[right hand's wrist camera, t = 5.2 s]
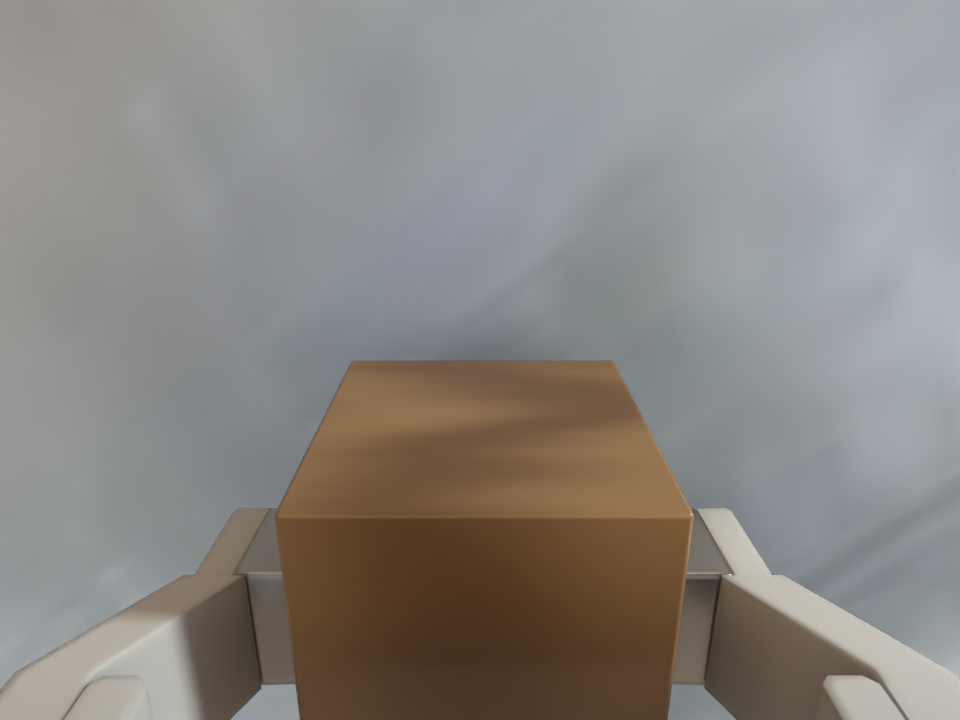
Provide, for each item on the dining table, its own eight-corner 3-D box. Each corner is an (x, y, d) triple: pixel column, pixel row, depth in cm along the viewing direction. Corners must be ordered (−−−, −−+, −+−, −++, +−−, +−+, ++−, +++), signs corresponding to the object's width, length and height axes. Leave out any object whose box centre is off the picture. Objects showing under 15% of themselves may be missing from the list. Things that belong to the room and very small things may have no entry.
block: (613, 358, 11) (695, 514, 7) (596, 595, 13) (654, 835, 9) (350, 359, 11) (271, 514, 7) (367, 595, 13) (312, 835, 9)
